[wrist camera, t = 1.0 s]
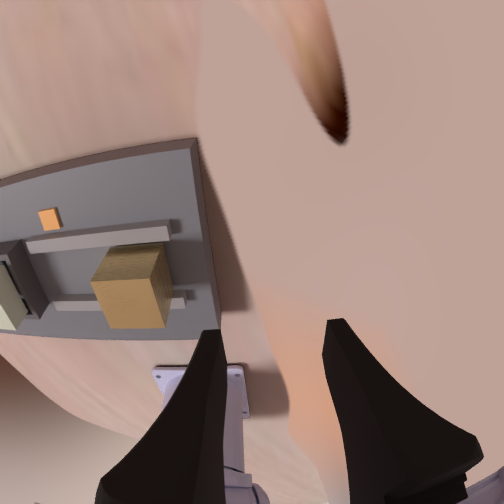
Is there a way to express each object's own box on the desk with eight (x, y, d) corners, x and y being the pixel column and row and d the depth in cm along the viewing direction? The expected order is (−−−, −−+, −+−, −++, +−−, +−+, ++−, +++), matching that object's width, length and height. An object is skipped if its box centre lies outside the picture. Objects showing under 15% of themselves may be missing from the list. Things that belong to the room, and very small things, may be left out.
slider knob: (174, 289, 17) (165, 328, 14) (125, 291, 17) (110, 328, 14) (162, 242, 15) (149, 278, 13) (110, 247, 15) (89, 281, 13)
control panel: (221, 312, 22) (219, 358, 18) (-7, 312, 21) (-26, 342, 18) (196, 137, 15) (183, 158, 12) (-58, 201, 15) (-88, 225, 12)
